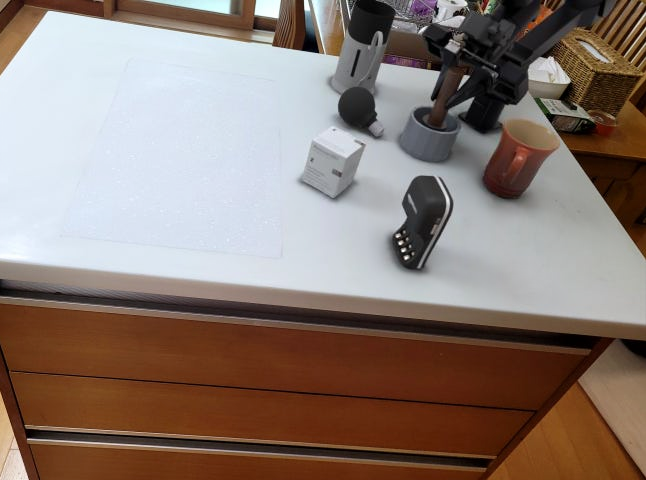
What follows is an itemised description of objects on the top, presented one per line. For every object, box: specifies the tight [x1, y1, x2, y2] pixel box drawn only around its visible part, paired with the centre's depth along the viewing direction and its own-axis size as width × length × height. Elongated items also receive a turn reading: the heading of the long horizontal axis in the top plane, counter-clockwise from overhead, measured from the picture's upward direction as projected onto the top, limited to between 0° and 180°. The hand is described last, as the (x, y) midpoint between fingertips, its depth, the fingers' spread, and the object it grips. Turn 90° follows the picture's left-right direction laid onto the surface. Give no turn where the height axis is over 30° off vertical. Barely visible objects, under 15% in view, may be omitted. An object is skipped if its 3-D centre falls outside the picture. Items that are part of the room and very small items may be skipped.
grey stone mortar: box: [399, 105, 462, 163], centre depth 94 cm, size 9×9×6 cm
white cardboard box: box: [301, 125, 367, 199], centre depth 81 cm, size 6×6×7 cm
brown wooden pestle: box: [420, 67, 465, 132], centre depth 90 cm, size 4×4×12 cm
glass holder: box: [330, 0, 397, 96], centre depth 100 cm, size 9×14×15 cm, turn 2°
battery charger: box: [391, 174, 454, 269], centre depth 71 cm, size 7×4×11 cm, turn 7°
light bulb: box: [337, 87, 386, 138], centre depth 95 cm, size 6×6×10 cm
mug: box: [481, 117, 561, 199], centre depth 86 cm, size 12×9×10 cm
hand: (438, 104), depth 89 cm, fingers closed on brown wooden pestle, 2 cm apart
